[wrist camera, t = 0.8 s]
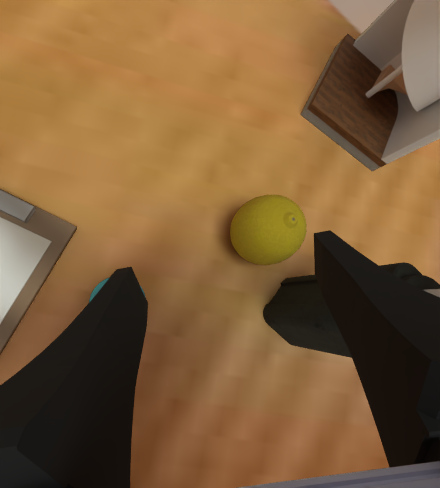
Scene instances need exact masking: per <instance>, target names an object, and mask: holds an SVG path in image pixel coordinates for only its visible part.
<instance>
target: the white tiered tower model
mask: <svg viewBox="0 0 440 488" xmlns="http://www.w3.org/2000/svg"><path fill="white" fill-rule="evenodd" d="M301 115H302V116H303V117H304V118H305V119H307V120H308V121H309V122H311V123H312V124H313V125H314V126H316V127H317V128H318V129H319V130H321V131H322V132H323V133H325V134H326V135H327V136H328V137H330V138H331V139H332V140H333V141H335V142H336V143H337V144H338V145H340V146H341V147H342V148H344V149H345V150H346V151H347V152H349V153H350V154H351V155H352V156H354V157H355V158H356V159H357V160H359V161H360V162H361V163H363V164H364V165H365V166H366V167H368V168H369V169H370V170H371V171H374V170H376V169H378V168H380V167H382V166H384V165H386V164H388V163H390V162H392V161H394V160H396V159H398V158H400V157H402V156H405V155H407V154H409V153H411V152H413V151H415V150H417V149H419V148H421V147H423V146H425V145H427V144H429V143H431V142H434V141H436V140H438V139H440V0H395V1H394V2H393V3H392V4H391V5H390V6H389V7H388V8H387V9H386V10H385V11H384V12H383V13H382V14H381V15H380V16H379V17H378V18H377V19H376V20H375V21H374V22H373V23H372V24H371V25H370V26H369V27H368V28H367V29H366V30H365V31H364V32H363V33H362V34H361V35H360V36H359V37H358V38H357V39H356V40H355V39H353V38H352V37H351V36H350V35H349V34H347V35H346V36H345V37H344V38H343V39H342V40H341V41H340V43H339V44H338V45H337V46H336V47H335V49H334V51H333V53H332V55H331V57H330V59H329V61H328V62H327V64H326V66H325V68H324V70H323V72H322V74H321V76H320V78H319V80H318V82H317V84H316V86H315V88H314V90H313V92H312V93H311V95H310V97H309V99H308V101H307V103H306V105H305V107H304V109H303V111H302V113H301Z"/></svg>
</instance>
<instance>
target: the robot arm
mask: <svg viewBox="0 0 440 488" xmlns="http://www.w3.org/2000/svg"><path fill="white" fill-rule="evenodd" d="M314 257H315V275H316V278H317V281H318V284H319V287H320V290H321V293H322V296H323V298H324V300H325V302H326V304H327V306H328V308H329V310H330V312H331V314H332V316H333V318H334V320H335V322H336V324H337V326H338V328H339V330H340V332H341V334H342V337H343V339H344V341H345V343H346V345H347V347H348V349H349V351H350V354H351V356H352V359H353V361H354V364H355V367H356V369H357V372H358V375H359V377H360V380H361V383H362V386H363V389H364V391H365V394H366V397H367V400H368V403H369V406H370V409H371V412H372V414H373V417H374V420H375V423H376V426H377V429H378V432H379V435H380V438H381V442H382V445H383V448H384V451H385V454H386V457H387V460H388V464H389V467H390V468H383V469H375V470H368V471H360V472H352V473H345V474H337V475H329V476H322V477H314V478H307V479H299V480H291V481H284V482H276V483H268V484H261V485H253V486H246V487H238V488H440V297H438V296H435V295H433V294H431V293H428V292H426V291H424V290H422V289H420V288H418V287H416V286H414V285H412V284H410V283H408V282H406V281H404V280H402V279H400V278H399V277H397V276H395V275H393V274H392V273H390V272H388V271H387V270H385V269H383V268H382V267H380V266H378V265H377V264H375V263H374V262H372V261H371V260H369V259H368V258H367V257H365V256H364V255H362V254H361V253H359V252H358V251H357V250H355V249H354V248H353V247H351V246H350V245H349V244H347V243H346V242H345V241H343V240H342V239H341V238H339V237H338V236H337V235H336V234H334V233H333V232H331V231H324V232H319V233H314ZM147 310H148V302H147V300H146V298H145V296H144V293H143V291H142V289H141V287H140V285H139V282H138V280H137V278H136V276H135V274H134V272H133V269H132V267H127V268H122V269H117V270H116V271H115V272H114V273H113V274H112V275H111V277H110V278H109V279H108V280H107V282H106V283H105V284H104V285H103V287H102V288H101V289H100V290H99V292H98V293H97V294H96V295H95V296H94V298H93V299H92V300H91V301H90V302H89V304H88V305H87V306H86V307H85V308H84V310H83V311H82V312H81V313H80V314H79V315H78V316H77V317H76V318H75V320H74V321H73V322H72V323H71V324H70V325H69V326H68V327H67V328H66V329H65V330H64V332H63V333H62V334H61V335H60V336H59V337H58V338H57V339H55V340H54V341H53V342H52V343H51V344H50V345H49V346H48V347H47V348H46V349H45V350H44V351H43V352H41V353H40V354H39V355H38V356H37V357H36V358H34V359H33V360H32V361H31V362H30V363H28V364H27V365H26V366H25V367H24V368H22V369H21V370H20V371H19V372H18V373H16V374H15V375H14V376H12V377H11V378H10V379H8V380H7V381H6V382H5V383H3V384H2V385H0V488H130V463H131V437H132V421H133V407H134V396H135V386H136V379H137V374H138V369H139V363H140V358H141V353H142V348H143V343H144V337H145V332H146V326H147Z"/></svg>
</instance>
